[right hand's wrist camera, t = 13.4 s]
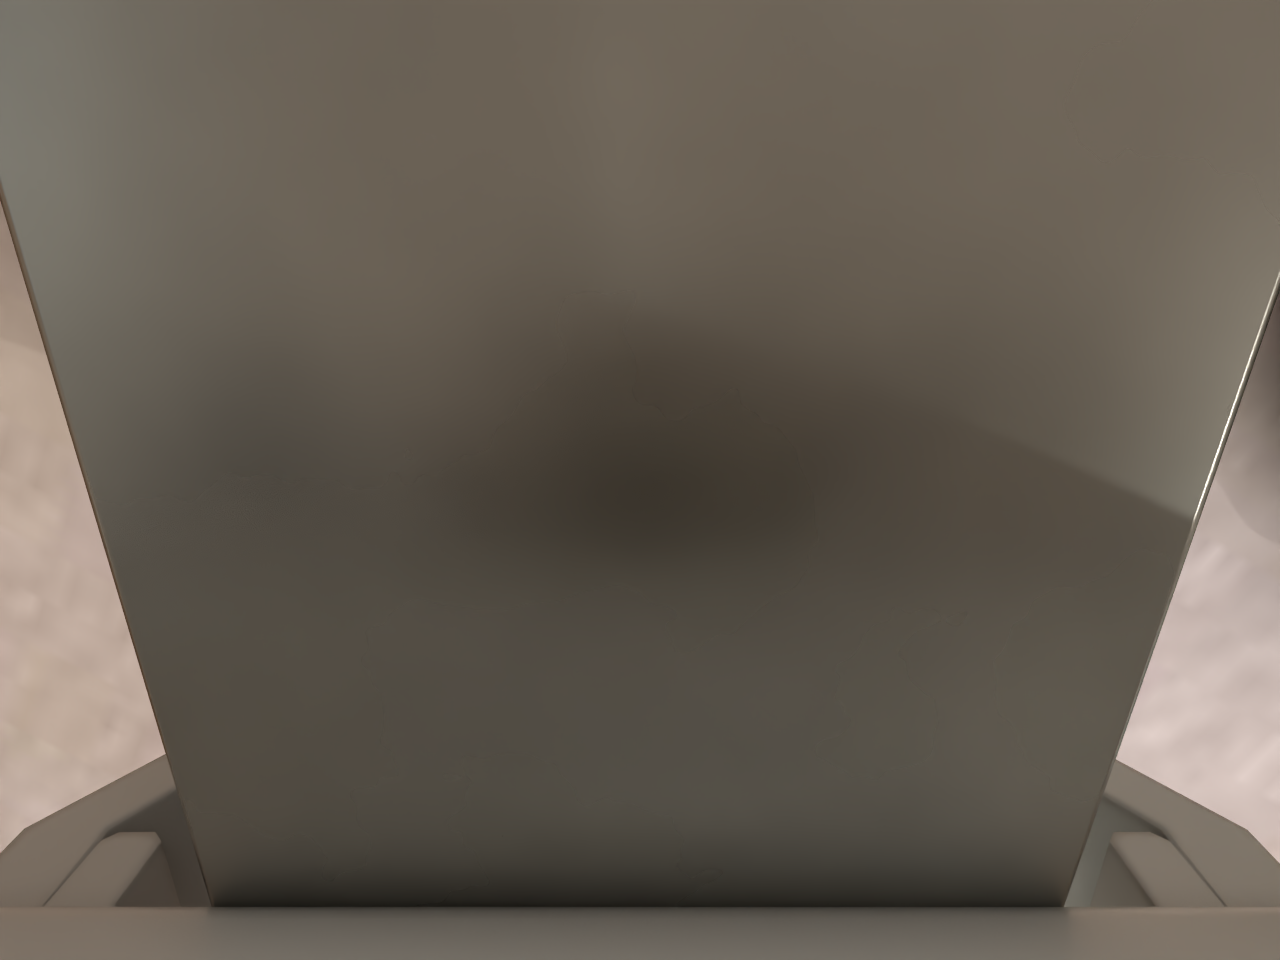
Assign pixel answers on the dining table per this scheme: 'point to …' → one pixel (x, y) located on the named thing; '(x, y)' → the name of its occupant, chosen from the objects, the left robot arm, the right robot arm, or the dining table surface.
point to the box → (644, 421)
